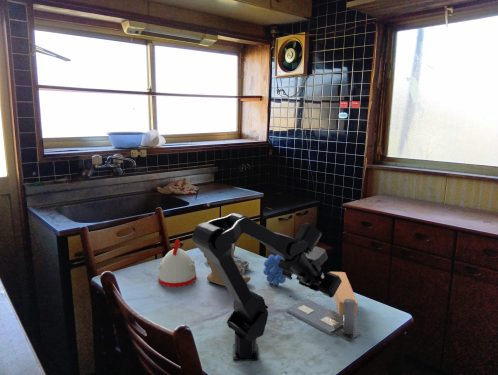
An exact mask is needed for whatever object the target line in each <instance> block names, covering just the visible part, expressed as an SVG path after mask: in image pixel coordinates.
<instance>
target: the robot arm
mask: <svg viewBox="0 0 498 375" xmlns="http://www.w3.org/2000/svg"><path fill="white" fill-rule="evenodd" d="M242 234H244V235H245V236H247V237H250V238H252V239H254V240H256V241H258V242H260V243H262V245H264V247H265V249H267V250H268V251H270V252H271V253H272V254H273V255H275V256H276V255H279V256H281V257H282V259H280V262H279V265H278V267H279V268H281V269H283V270H282V275H283V276H284V277H285V278H286V279H288V280H290V281H292V280H293V277H292V276H293V275H295V276H296V278H295V279H296V280H297V281H298V284H299V285H301V286H303V287H306V288H307V289H308V288H309V289H310V290H312V291H315V292H320V293H321V295H324V296H326V297H328V298H334V295H335V293H336V291H337V289H338V287H339V286H340V284H341V282H342V280H341V278H340V277H339V276H338V275H335V274H333V273H330V272H331V271H329V272H326V273H324V272H323V271H321V270H322V267H321V266H322V265H323V264H324V263H325V262H327V260H328V254H327V251H326V248H325V249H324V248H322V247H319V246H316V245H317V243H318V242H319V240H320V238H321V237H322V234H323V233H322V232H321V230H319V229H317V228H316V227H314V226H312V225H311V224H310V223H308V222H303V223H302V225H301V227H300V229H299V231H298V232H297V233H296V235H295V237H294V236H291V235H287V234H282V233H280V232H275V231H273V230H270V229H268V228H267V227H266V226H263V225H262V224H260V223H258V222H256V221H254V220H252V219H250V218H249V216H247V215H244V214H241V213H238V212H233V213H230V214H228V215H225V216H224V217H218V218H215V219H211V220H209V221H206V222H205V221H204V222H201V223H199V224H197V226H196V227H194V230H193V232H192V236H191V239H192V243H193V244H194V245H195V246H196V247H197V248H198V250H200V252H201V253H202V254H203V255H204V254H205V255H206V256H207V257H208V258H209V259H211V260H212V262H213V264H214V265H215V267H216V269H217V271H218V273H219V274H220V276H221V278H222V280H223V281H224V283H225V285H226V286H225V287H226V288H227V291H228V292H229V294H230V296H231V298H232V299H233V302H232V303H233V304H232V308H233V311H232V313H231V314H230V315H229V317H228V319H227V320H226V324H227V326H228V328H229V329H231V330H233V331H234V343H233V345H232V360H233V361H259V347H258V346H259V345H258V342H257V339H259V338H260V337H262V336H263V335H264V333H265V329H266V327H267V326H266V325H267V323H268V322H267V321H268V317H269V312H268V309H269V306H267V304H266V302H265V299H264V297H263V296H261V295H260V294H258V293H256V292H254V291H252V290H250V288H249V286H248V284H247V283H246V282H245V280H244V278H243V276H242V275H243V274H241V273H240V271H239V269H238V267H237V265H236V263H235V261H234V259H233V257H232V255H231V250H232V244H234V243H235V244H236V243H237V242H238V241H239V239H240V237H241V236H242Z"/></svg>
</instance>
